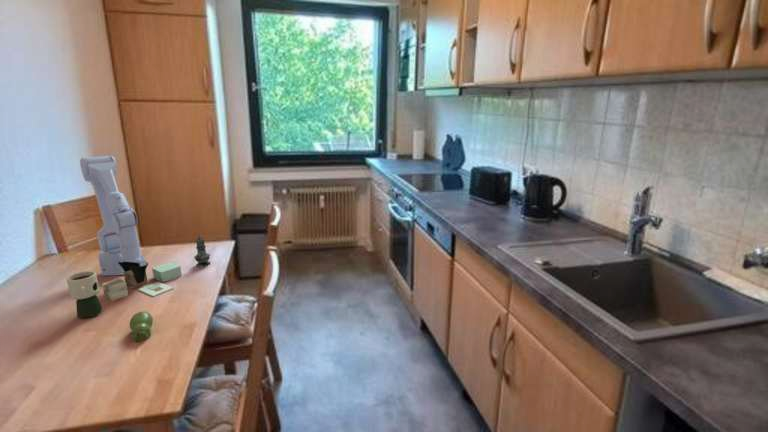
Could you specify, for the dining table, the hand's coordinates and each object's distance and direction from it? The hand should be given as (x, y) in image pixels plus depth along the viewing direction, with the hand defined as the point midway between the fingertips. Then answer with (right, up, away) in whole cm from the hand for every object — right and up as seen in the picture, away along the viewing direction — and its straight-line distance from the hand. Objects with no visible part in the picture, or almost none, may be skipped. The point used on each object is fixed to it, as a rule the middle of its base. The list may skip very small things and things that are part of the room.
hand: (136, 280), depth 142 cm
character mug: (-2, -7, -20) cm, 21 cm away
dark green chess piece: (+16, +3, +18) cm, 24 cm away
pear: (+20, -10, -30) cm, 38 cm away
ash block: (-1, -4, -8) cm, 9 cm away
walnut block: (0, -1, 0) cm, 1 cm away
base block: (+8, 0, +7) cm, 10 cm away
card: (+9, -3, -4) cm, 10 cm away
